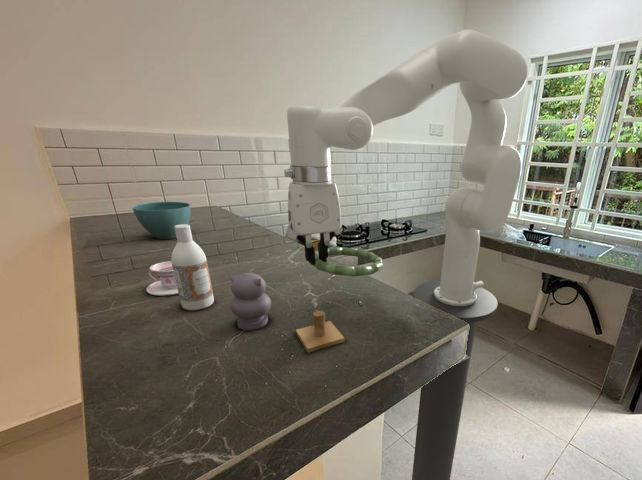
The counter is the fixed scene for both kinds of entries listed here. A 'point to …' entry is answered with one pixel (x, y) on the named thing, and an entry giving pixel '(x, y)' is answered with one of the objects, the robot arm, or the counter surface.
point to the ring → (346, 269)
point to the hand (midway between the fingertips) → (317, 261)
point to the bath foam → (191, 271)
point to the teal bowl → (162, 217)
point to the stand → (319, 333)
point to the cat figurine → (249, 300)
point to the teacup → (163, 280)
